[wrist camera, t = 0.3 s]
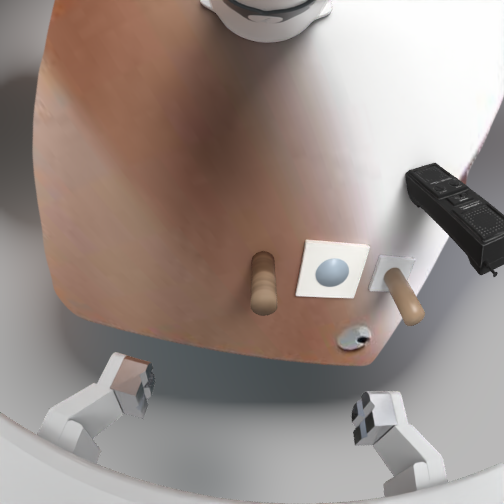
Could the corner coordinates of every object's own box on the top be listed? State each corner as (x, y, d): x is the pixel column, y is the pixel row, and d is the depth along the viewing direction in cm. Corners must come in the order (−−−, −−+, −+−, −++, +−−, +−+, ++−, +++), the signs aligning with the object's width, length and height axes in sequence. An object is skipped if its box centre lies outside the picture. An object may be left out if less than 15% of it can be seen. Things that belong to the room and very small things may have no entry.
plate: (305, 239, 51) (306, 243, 50) (368, 244, 52) (370, 248, 51) (295, 292, 58) (296, 296, 57) (352, 295, 58) (353, 298, 57)
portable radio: (440, 159, 42) (537, 227, 21) (443, 189, 45) (530, 267, 24) (403, 169, 44) (495, 248, 23) (408, 200, 47) (488, 289, 26)
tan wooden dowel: (379, 254, 53) (404, 299, 42) (413, 257, 53) (441, 299, 42) (368, 287, 57) (387, 334, 46) (400, 288, 57) (423, 332, 46)
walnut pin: (252, 250, 53) (251, 295, 43) (275, 252, 53) (279, 296, 43) (251, 269, 55) (249, 314, 45) (272, 270, 55) (275, 316, 45)
